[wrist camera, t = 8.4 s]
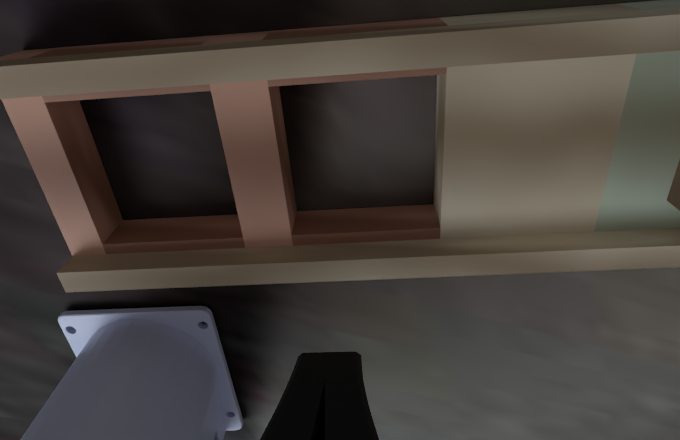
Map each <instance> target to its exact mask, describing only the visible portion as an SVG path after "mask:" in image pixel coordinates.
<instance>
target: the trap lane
mask: <svg viewBox="0 0 680 440" xmlns="http://www.w3.org/2000/svg"><path fill="white" fill-rule="evenodd" d="M429 75H437V98H436V133H435V167H434V202H433V204H427V205H408V206H388V207H369V208H350V209H330V210H311V211H297V208H296V201H295V194H294V187H293V180H292V173H291V166H290V159H289V152H288V145H287V139H286V132H285V125H284V118H283V111H282V104H281V97H280V90H279V86H288V85H302V84H316V83H330V82H344V81H358V80H373V79H387V78H401V77H415V76H429ZM203 91H211V94H212V98H213V103H214V108H215V112H216V117H217V121H218V126H219V130H220V135H221V140H222V144H223V149H224V153H225V158H226V162H227V167H228V172H229V176H230V181H231V185H232V190H233V194H234V199H235V203H236V208H237V213H238V214H233V215H214V216H195V217H175V218H156V219H137V220H123V218H122V215H121V213H120V210H119V207H118V205H117V202H116V199H115V196H114V194H113V191H112V188H111V186H110V183H109V180H108V177H107V175H106V172H105V169H104V166H103V164H102V161H101V158H100V156H99V153H98V150H97V147H96V145H95V142H94V139H93V136H92V134H91V131H90V128H89V126H88V123H87V120H86V117H85V115H84V112H83V109H82V107H81V104H80V101H79V100H89V99H103V98H118V97H132V96H146V95H160V94H174V93H188V92H203ZM0 99H1V100H2V102H3V104H4V106H5V108H6V111H7V113H8V115H9V117H10V119H11V122H12V124H13V126H14V128H15V130H16V133H17V135H18V137H19V139H20V141H21V144H22V146H23V148H24V150H25V152H26V155H27V157H28V159H29V161H30V164H31V166H32V168H33V170H34V172H35V175H36V177H37V179H38V181H39V183H40V186H41V188H42V190H43V192H44V194H45V197H46V199H47V201H48V203H49V205H50V208H51V210H52V212H53V214H54V216H55V219H56V221H57V223H58V225H59V228H60V230H61V232H62V234H63V236H64V239H65V241H66V243H67V245H68V247H69V250H70V252H71V254H72V257H71V258H70V259H69V260H68V261H67V262H66V263H65V264H64V265H63V266H62V268H61V269H60V270H59V271H58V272H57V275H58V277H59V279H60V281H61V283H62V286H63V288H64V290H65V292H86V291H110V290H134V289H159V288H183V287H208V286H232V285H257V284H281V283H306V282H330V281H355V280H379V279H404V278H428V277H453V276H477V275H502V274H526V273H551V272H575V271H600V270H624V269H649V268H673V267H680V211H679V210H678V209H677V208H676V207H674V206H673V205H672V204H671V203H669V202H668V201H667V197H668V194H669V191H670V188H671V185H672V181H673V178H674V175H675V172H676V169H677V166H678V163H679V160H680V0H655V1H643V2H630V3H617V4H605V5H592V6H579V7H567V8H554V9H541V10H529V11H516V12H503V13H491V14H478V15H465V16H453V17H440V18H427V19H415V20H402V21H389V22H377V23H364V24H351V25H339V26H326V27H313V28H301V29H288V30H276V31H263V32H250V33H238V34H225V35H212V36H200V37H187V38H174V39H162V40H149V41H136V42H124V43H111V44H98V45H86V46H73V47H60V48H48V49H35V50H22V51H19V52H15V53H12V54H9V55H5V56H2V57H0Z"/></svg>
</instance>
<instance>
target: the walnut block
mask: <svg viewBox="0 0 680 440" xmlns="http://www.w3.org/2000/svg"><path fill="white" fill-rule="evenodd" d="M667 201H668V202H669V203H671V204H672V205H673V206H674V207H676V208H677V209H678V210H679V211H680V160H679V163H678V166H677V169H676V172H675V175H674V178H673V181H672V185H671V188H670V191H669V194H668V197H667Z"/></svg>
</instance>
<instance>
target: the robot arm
mask: <svg viewBox="0 0 680 440" xmlns="http://www.w3.org/2000/svg"><path fill="white" fill-rule="evenodd" d="M202 322H205V323H207V324H204V323H202ZM58 323H59V325H60V326H61V328H62V330H63V332H64V334H65V336H66V338H67V340H68V342H69V344H70V346H71V348H72V350H73V352H74V354H75V355H76V357H77V358H76V360H75V361H74V362H73V364H72V365H71V367H70V368H69V370H68V371H67V373H66V374H65V375H64V377H63V378H62V380H61V381H60V383H59V384H58V386H57V387H56V389H55V390H54V391H53V393H52V394H51V396H50V397H49V399H48V400H47V402H46V403H45V405H44V406H43V407H42V409H41V410H40V412H39V413H38V415H37V416H36V418H35V419H34V421H33V422H32V423H31V425H30V426H29V428H28V429H27V431H26V432H25V434H24V435H23V436H22V438H21V439H20V440H223V438H224V434H225V431H226V430H239V429H241V427H242V425H243V418H242V414H241V411H240V407H239V404H238V401H237V397H236V394H235V390H234V387H233V383H232V380H231V376H230V373H229V369H228V366H227V362H226V359H225V355H224V352H223V348H222V345H221V341H220V338H219V334H218V331H217V327H216V324H215V321H214V317H213V314H212V311H211V310H210V309H209V308H207V307H205V306H182V307H155V308H129V309H102V310H76V311H64V312H63V313H62V314H61V315H60V316H59V317H58ZM260 440H379V438H378V435H377V432H376V429H375V426H374V422H373V419H372V416H371V412H370V409H369V405H368V401H367V396H366V392H365V387H364V382H363V375H362V362H361V355H360V354H358V353H357V352H321V353H302V354H301V355H300V356H299V357H298V359H297V362H296V365H295V367H294V370H293V372H292V375H291V377H290V380H289V382H288V384H287V387H286V389H285V391H284V393H283V395H282V397H281V400H280V402H279V404H278V406H277V408H276V410H275V412H274V414H273V416H272V418H271V420H270V422H269V424H268V426H267V427H266V429H265V431H264V433H263V435H262V437H261V439H260Z"/></svg>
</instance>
